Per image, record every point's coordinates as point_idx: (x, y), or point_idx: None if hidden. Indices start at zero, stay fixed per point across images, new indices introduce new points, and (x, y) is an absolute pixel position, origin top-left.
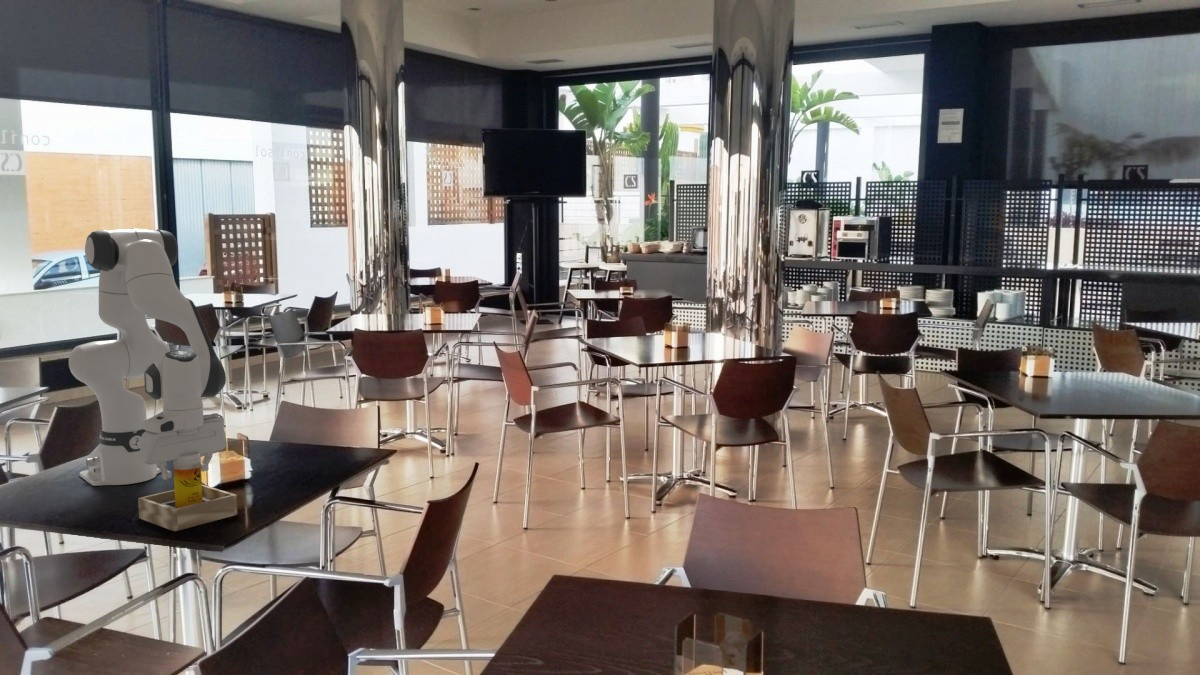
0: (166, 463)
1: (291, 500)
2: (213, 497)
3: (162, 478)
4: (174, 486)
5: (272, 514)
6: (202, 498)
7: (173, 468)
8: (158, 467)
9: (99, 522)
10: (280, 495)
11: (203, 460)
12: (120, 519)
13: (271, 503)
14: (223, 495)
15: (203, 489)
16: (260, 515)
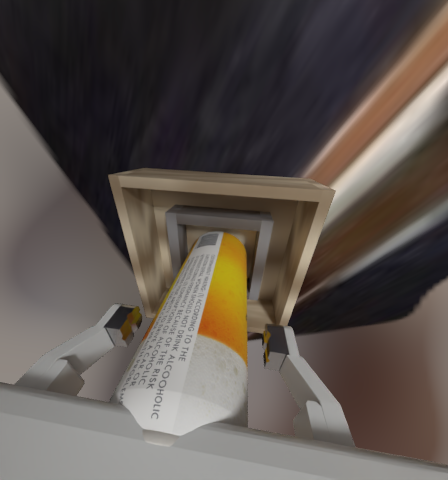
0: (76, 393)
1: (395, 315)
2: (290, 259)
3: (116, 304)
4: (170, 287)
5: (303, 334)
6: (261, 258)
7: (140, 343)
8: (61, 347)
9: (57, 110)
10: (433, 280)
11: (294, 371)
12: (106, 134)
13: (363, 301)
14: (283, 302)
15: (307, 223)
16: (291, 325)
